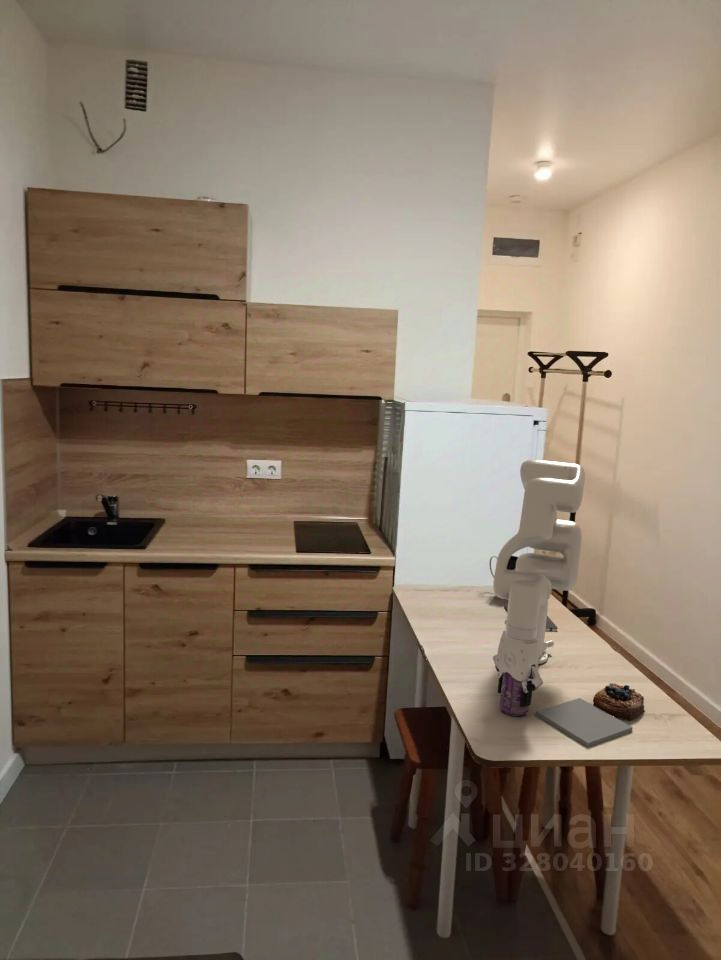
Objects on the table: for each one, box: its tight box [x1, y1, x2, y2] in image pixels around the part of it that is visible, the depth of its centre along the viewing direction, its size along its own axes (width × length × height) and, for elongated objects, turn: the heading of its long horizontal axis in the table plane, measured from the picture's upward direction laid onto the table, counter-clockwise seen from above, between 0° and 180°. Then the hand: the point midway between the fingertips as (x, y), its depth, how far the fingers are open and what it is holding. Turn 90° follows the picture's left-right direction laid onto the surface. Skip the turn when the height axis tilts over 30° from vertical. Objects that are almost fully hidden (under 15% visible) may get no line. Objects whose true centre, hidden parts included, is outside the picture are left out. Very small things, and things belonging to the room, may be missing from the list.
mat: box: [535, 697, 634, 748], centre depth 166 cm, size 16×16×1 cm
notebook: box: [503, 604, 559, 632], centre depth 235 cm, size 13×2×21 cm
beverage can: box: [499, 672, 530, 717], centre depth 168 cm, size 7×7×12 cm
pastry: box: [592, 682, 646, 722], centre depth 174 cm, size 11×12×6 cm
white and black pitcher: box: [489, 555, 519, 601], centre depth 258 cm, size 9×14×15 cm, turn 41°
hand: (513, 698), depth 168 cm, fingers closed on beverage can, 7 cm apart
